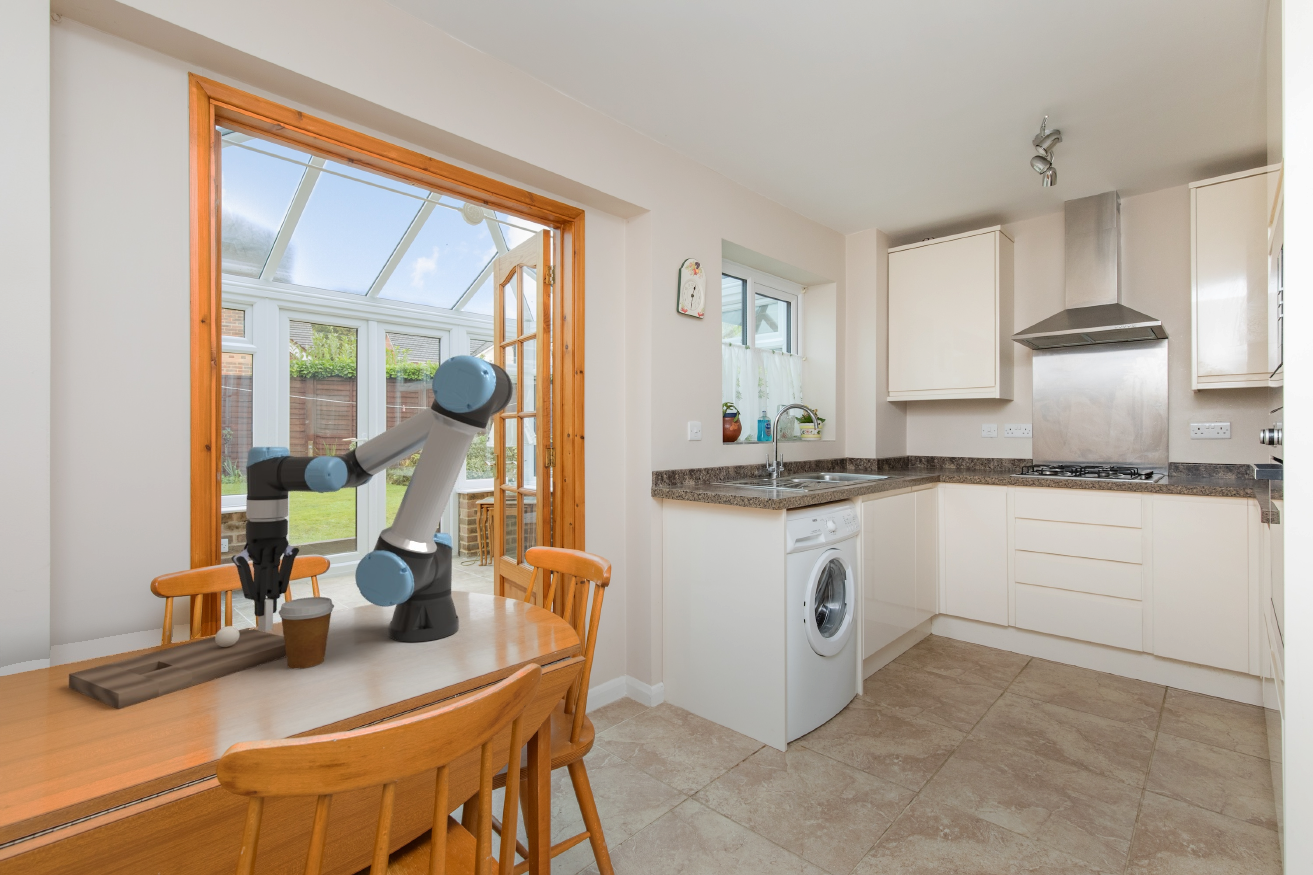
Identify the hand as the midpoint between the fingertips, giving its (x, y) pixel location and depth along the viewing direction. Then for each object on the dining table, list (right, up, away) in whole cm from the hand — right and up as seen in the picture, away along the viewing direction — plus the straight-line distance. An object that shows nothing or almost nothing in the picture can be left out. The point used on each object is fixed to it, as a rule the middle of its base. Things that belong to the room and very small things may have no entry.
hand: (265, 629), depth 127 cm
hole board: (-6, -4, -12) cm, 14 cm away
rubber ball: (-3, +1, -7) cm, 8 cm away
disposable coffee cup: (+14, -4, -9) cm, 17 cm away
